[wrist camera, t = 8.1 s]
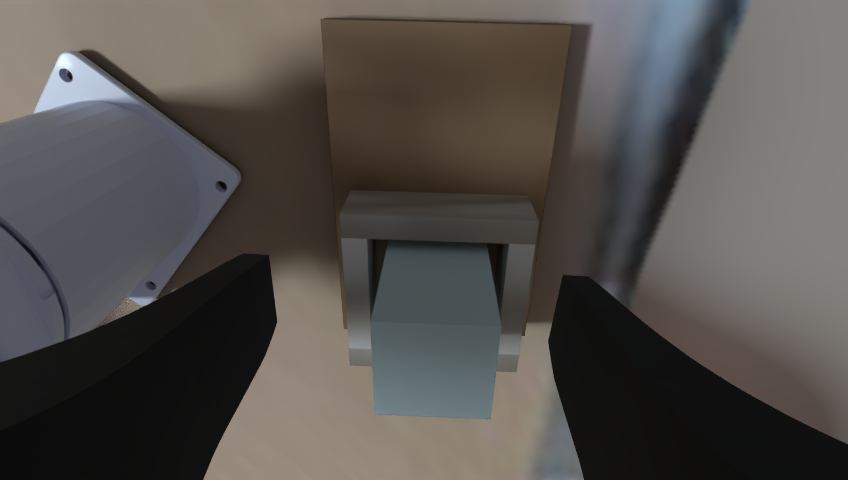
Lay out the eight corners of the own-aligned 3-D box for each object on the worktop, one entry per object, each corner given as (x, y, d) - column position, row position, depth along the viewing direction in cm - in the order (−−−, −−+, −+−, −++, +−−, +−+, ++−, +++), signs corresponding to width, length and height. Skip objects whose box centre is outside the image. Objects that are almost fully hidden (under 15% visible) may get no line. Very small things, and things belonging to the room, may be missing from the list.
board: (326, 18, 18) (302, 22, 15) (565, 23, 17) (592, 29, 14) (347, 317, 24) (333, 364, 21) (521, 323, 24) (533, 372, 21)
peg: (477, 301, 22) (490, 419, 16) (393, 298, 22) (374, 414, 16) (483, 225, 20) (501, 326, 14) (392, 223, 20) (370, 321, 14)
